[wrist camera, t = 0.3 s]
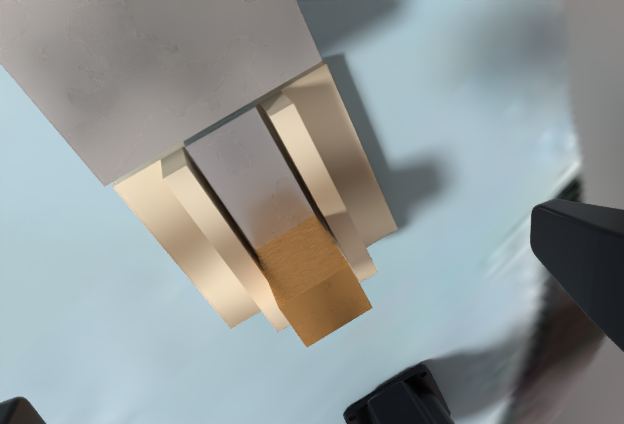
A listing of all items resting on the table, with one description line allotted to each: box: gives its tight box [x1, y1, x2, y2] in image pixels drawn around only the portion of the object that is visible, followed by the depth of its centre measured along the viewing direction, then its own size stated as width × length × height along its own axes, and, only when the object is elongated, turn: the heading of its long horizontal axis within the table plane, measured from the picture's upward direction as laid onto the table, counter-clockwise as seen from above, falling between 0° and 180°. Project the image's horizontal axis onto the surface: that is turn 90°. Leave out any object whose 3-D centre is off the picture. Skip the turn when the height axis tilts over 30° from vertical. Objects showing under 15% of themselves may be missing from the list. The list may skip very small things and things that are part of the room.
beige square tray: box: [113, 61, 398, 332], centre depth 21 cm, size 10×10×3 cm
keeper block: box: [0, 0, 322, 187], centre depth 16 cm, size 6×8×5 cm
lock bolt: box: [184, 102, 372, 347], centre depth 19 cm, size 8×3×5 cm, turn 25°
